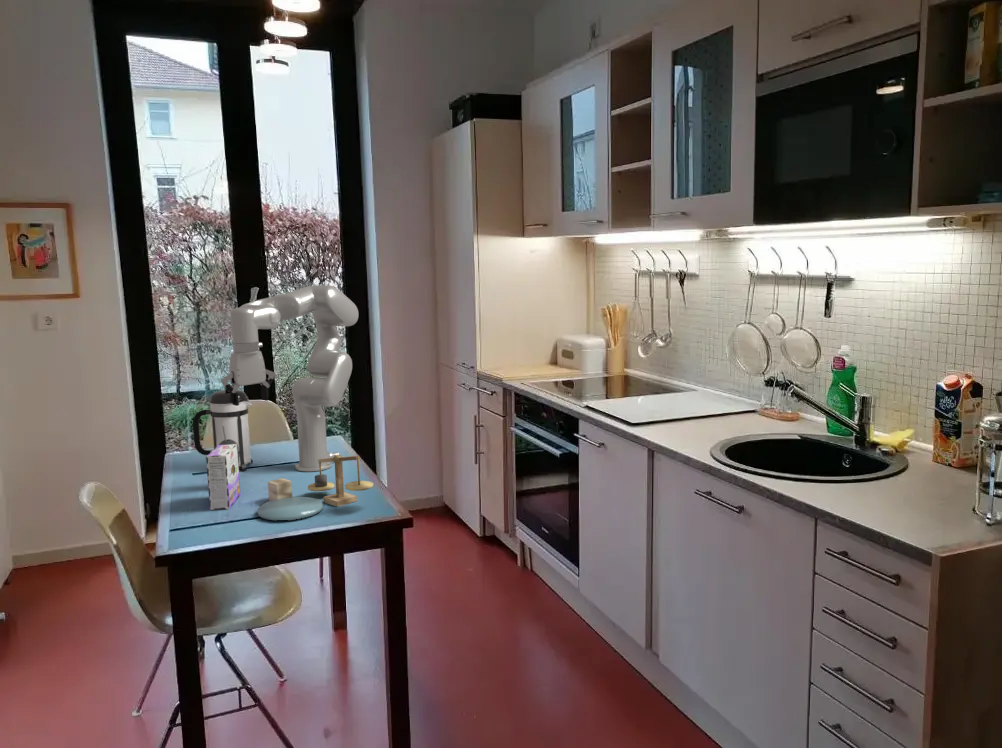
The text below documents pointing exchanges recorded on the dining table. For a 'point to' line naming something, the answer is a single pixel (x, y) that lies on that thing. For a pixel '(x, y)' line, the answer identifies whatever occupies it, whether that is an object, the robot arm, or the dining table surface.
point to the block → (279, 489)
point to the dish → (290, 508)
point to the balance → (339, 482)
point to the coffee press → (227, 424)
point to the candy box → (223, 477)
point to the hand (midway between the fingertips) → (250, 402)
